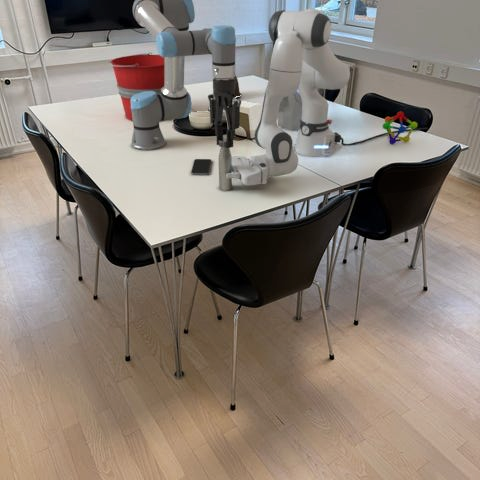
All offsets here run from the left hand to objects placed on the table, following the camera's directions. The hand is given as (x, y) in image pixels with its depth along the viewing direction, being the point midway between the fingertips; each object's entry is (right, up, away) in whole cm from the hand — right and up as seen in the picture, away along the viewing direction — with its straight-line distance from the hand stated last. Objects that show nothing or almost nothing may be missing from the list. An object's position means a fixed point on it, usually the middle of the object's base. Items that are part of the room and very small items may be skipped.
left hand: (224, 145), depth 158 cm
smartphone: (-11, -4, +26) cm, 28 cm away
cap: (0, +2, -1) cm, 2 cm away
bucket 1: (-46, +36, +89) cm, 106 cm away
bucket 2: (+35, +27, +75) cm, 87 cm away
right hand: (-1, -9, +5) cm, 10 cm away
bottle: (0, -14, +9) cm, 17 cm away
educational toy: (+80, +12, +52) cm, 96 cm away
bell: (-3, +57, +123) cm, 135 cm away
